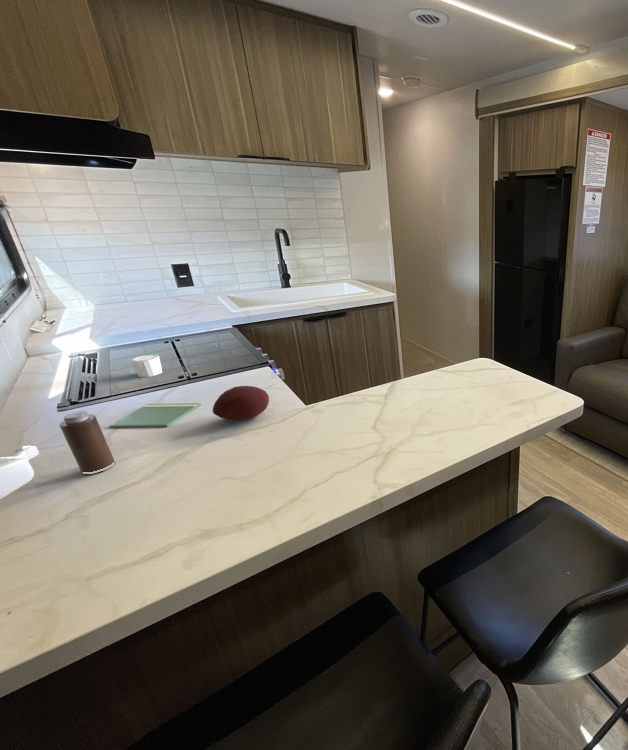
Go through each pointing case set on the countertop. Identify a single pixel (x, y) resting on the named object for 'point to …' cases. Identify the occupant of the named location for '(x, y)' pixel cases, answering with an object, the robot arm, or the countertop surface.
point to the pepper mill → (86, 441)
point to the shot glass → (147, 365)
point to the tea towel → (156, 415)
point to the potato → (241, 403)
